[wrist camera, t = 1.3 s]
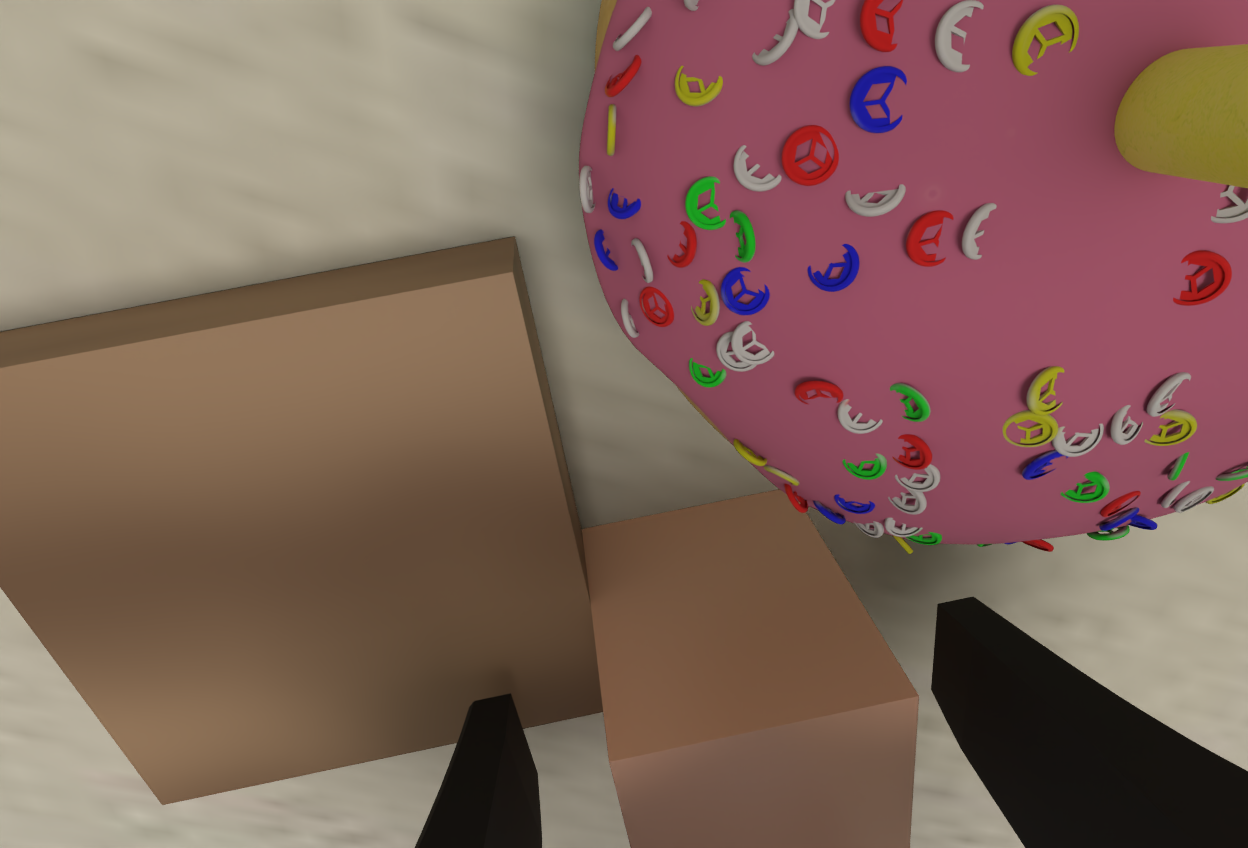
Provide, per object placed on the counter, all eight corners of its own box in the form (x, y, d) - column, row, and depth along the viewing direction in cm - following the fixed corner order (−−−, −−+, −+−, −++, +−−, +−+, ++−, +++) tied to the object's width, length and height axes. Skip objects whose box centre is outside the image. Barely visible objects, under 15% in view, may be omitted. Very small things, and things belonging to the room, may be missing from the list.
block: (797, 639, 15) (907, 875, 11) (615, 677, 15) (652, 932, 11) (789, 485, 13) (919, 696, 9) (581, 527, 13) (609, 762, 9)
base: (603, 629, 14) (614, 709, 13) (208, 711, 14) (162, 805, 12) (514, 236, 11) (513, 272, 9) (-29, 337, 10) (-143, 394, 9)
